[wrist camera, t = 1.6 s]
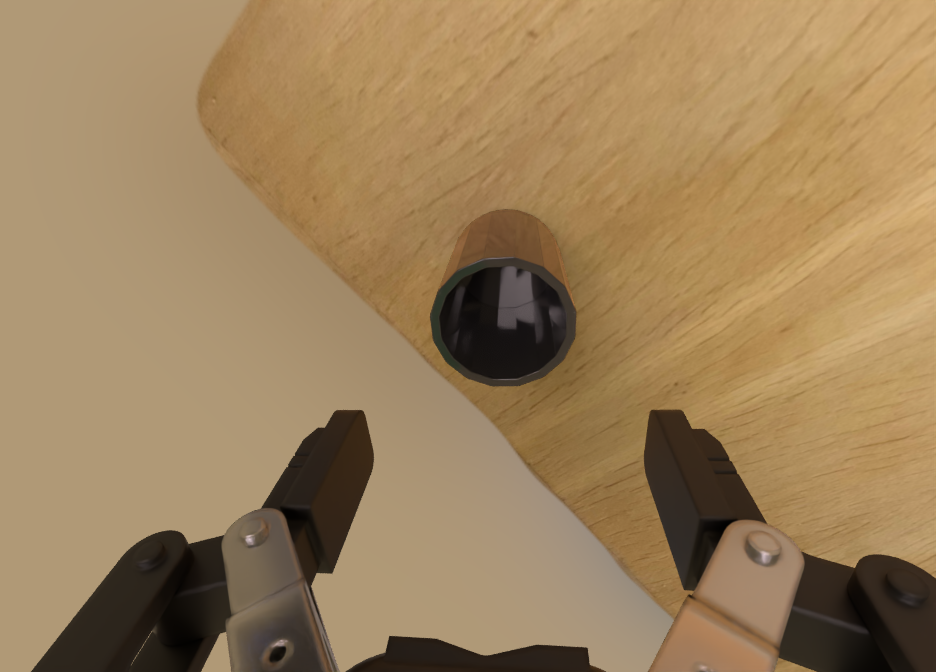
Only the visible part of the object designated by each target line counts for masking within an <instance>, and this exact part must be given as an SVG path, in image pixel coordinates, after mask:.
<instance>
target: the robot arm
mask: <svg viewBox="0 0 936 672" xmlns="http://www.w3.org/2000/svg"><path fill="white" fill-rule="evenodd" d="M373 462H374V453H373V448H372V443H371V439H370V434H369V430H368V426H367V421H366V417H365V414H364V412H363V411H362V410H337V411H335V412H334V413H333V415H332V417H331V418H330V421H329V422H328V424H327V425H326V427H325V428H317V429H316V430H315V431H314V432H312V433H311V434H310V435H309V436H308V437H306V438H305V439H304V440H303V441H302V443H301V445H300V446H299V448H298V450H297V451H296V453H295V456H293V458H292V459H291V461H290V463H289V464H288V467H287V468H286V469H285V471H284V472H283V474H282V475H281V477H280V479H279V480H278V482H277V483H276V485H275V487H274V488H273V490H272V492H271V493H270V495H269V496H268V498H267V500H266V501H265V503H264V505H263V506H262V508H261V509H259V510H255V511H252V512H250V513H248V514H246V515H244V516H242V517H241V518H239V519H238V520H237V521H236V522H234V523H233V524H232V525H231V526H230V528H229V529H228V530H227V532H226V533H225V535H223V536H219V537H215V538H211V539H207V540H203V541H200V542H195V543H191V544H188V542H187V540H186V538H185V537H184V535H183V534H182V533H180V532H178V531H172V530H169V531H162V532H158V533H155V534H153V535H151V536H148V537H146V538H145V539H143V540H141V541H139V542H138V543H136V544H135V545H134V546H133V547H131V548H130V549H129V550H128V551H127V552H126V553H125V554H124V555H123V556H122V557H121V559H120V560H119V561H118V562H117V564H116V565H115V566H114V568H113V569H112V570H111V571H110V573H109V574H108V575H107V576H106V578H105V579H104V580H103V581H102V583H101V584H100V585H99V586H98V588H97V589H96V590H95V592H94V593H93V594H92V596H91V597H90V598H89V599H88V601H87V602H86V603H85V604H84V605H83V607H82V608H81V609H80V610H79V612H78V613H77V614H76V616H75V617H74V618H73V619H72V621H71V622H70V623H69V624H68V626H67V627H66V628H65V630H64V631H63V632H62V633H61V635H60V636H59V637H58V638H57V640H56V641H55V642H54V644H53V645H52V646H51V647H50V648H49V650H48V651H47V652H46V654H45V655H44V656H43V657H42V659H41V660H40V661H39V662H38V664H37V665H36V666H35V667H34V669H33V670H32V671H31V672H201V671H202V668H203V666H204V664H205V662H206V660H207V658H208V656H209V654H210V652H211V650H212V648H213V646H214V644H215V642H216V640H217V638H218V636H219V634H220V633H223V632H226V633H227V641H228V649H229V657H230V664H231V672H340V671H339V668H338V666H337V663H336V660H335V657H334V654H333V651H332V648H331V645H330V642H329V639H328V636H327V633H326V630H325V627H324V624H323V621H322V618H321V614H320V611H319V608H318V605H317V602H316V599H315V596H314V593H313V590H312V587H311V585H312V582H313V580H314V578H315V575H316V573H333V570H334V568H335V565H336V563H337V560H338V557H339V555H340V552H341V549H342V547H343V545H344V542H345V540H346V537H347V534H348V532H349V529H350V526H351V524H352V521H353V519H354V516H355V514H356V511H357V509H358V506H359V503H360V501H361V498H362V496H363V493H364V491H365V488H366V485H367V483H368V480H369V477H370V475H371V472H372V469H373ZM644 466H645V473H646V477H647V480H648V483H649V486H650V489H651V492H652V495H653V498H654V501H655V504H656V507H657V510H658V513H659V516H660V519H661V522H662V525H663V528H664V531H665V534H666V537H667V540H668V543H669V546H670V549H671V552H672V555H673V558H674V561H675V564H676V567H677V570H678V573H679V576H680V579H681V583H682V586H683V589H684V590H692V591H694V593H693V594H692V595H690V594H689V595H688V596H687V597H686V599H685V601H684V602H683V604H682V606H681V608H680V610H679V612H678V614H677V616H676V618H675V620H674V622H673V624H672V626H671V628H670V630H669V632H668V633H667V636H666V638H665V639H664V641H663V643H662V645H661V647H660V649H659V651H658V653H657V655H656V657H655V659H654V661H653V663H652V665H651V667H650V669H649V671H648V672H774V671H775V667H776V664H777V661H778V657H779V658H781V659H784V660H787V661H790V662H792V663H795V664H798V665H800V666H803V667H806V668H809V669H811V670H814V671H817V672H936V579H935V578H934V577H933V576H931V575H930V574H929V573H927V572H926V571H924V570H923V569H921V568H919V567H917V566H915V565H913V564H911V563H909V562H907V561H905V560H902V559H899V558H896V557H892V556H887V555H868V556H865V557H863V558H862V559H860V560H859V562H858V563H857V565H856V567H855V568H853V567H849V566H846V565H842V564H838V563H835V562H831V561H828V560H824V559H821V558H817V557H814V556H811V555H808V554H806V553H804V552H801V551H800V549H799V547H798V546H797V545H796V543H795V542H794V541H793V540H792V539H791V538H790V537H788V536H787V535H786V534H785V533H783V532H782V531H780V530H779V529H777V528H775V527H773V526H771V525H768V524H767V523H766V521H765V519H764V517H763V516H762V514H761V512H760V510H759V509H758V507H757V505H756V503H755V502H754V500H753V498H752V497H751V495H750V493H749V491H748V490H747V488H746V486H745V484H744V483H743V481H742V479H741V477H740V476H739V474H737V470H736V469H735V467H734V465H733V463H732V462H731V461H730V460H729V457H728V455H727V453H726V451H725V450H724V448H723V446H722V444H721V443H720V442H719V441H718V440H717V439H716V438H714V437H713V436H712V435H711V434H710V433H708V432H707V431H706V430H705V429H692V428H691V426H690V424H689V422H688V420H687V418H686V416H685V414H684V412H683V411H682V410H651V411H650V414H649V420H648V428H647V436H646V443H645V451H644ZM151 631H152V633H151ZM150 633H151V634H150ZM149 634H150V636H149ZM148 636H149V638H148ZM147 638H148V639H147ZM146 639H147V641H146ZM145 641H146V642H145ZM144 643H145V644H144ZM143 644H144V646H143ZM142 646H143V648H142V649H141V647H142ZM140 649H141V651H140ZM139 651H140V652H139ZM138 652H139V654H138ZM137 654H138V655H137ZM136 655H137V657H136ZM135 657H136V659H135ZM134 659H135V660H134ZM133 660H134V662H133ZM132 662H133V663H132ZM131 664H132V665H131ZM346 672H606V671H604V670H601V669H599V668H597V667H594V666H591V665H590V664H589V656H588V648H584V647H566V646H550V645H533V646H529V647H525V648H520V649H516V650H511V651H507V652H502V653H498V654H493V655H488V656H484V655H480V654H477V653H474V652H471V651H468V650H466V649H463V648H460V647H458V646H455V645H452V644H449V643H447V642H444V641H441V640H438V639H432V638H413V637H398V636H389V640H388V644H387V648H386V653H383V654H379V655H376V656H374V657H371V658H368V659H366V660H364V661H362V662H360V663H358V664H356V665H355V666H353V667H352V668H351V669H349V670H347V671H346Z"/></svg>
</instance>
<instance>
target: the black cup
mask: <svg viewBox="0 0 936 672" xmlns="http://www.w3.org/2000/svg"><path fill="white" fill-rule="evenodd" d="M430 321H431V328H432V336H433V340H434V343H435V345H436V346H437V348H438V350H439V351H440V353H441V355H442V356H443V358H444V360H445V361H446V362H447V363H448V364H449V365H450V366H451V367H453V368H454V369H455V370H457V371H458V372H459V373H461V374H462V375H463V376H464V377H466V378H468V379H471V380H474V381H477V382H480V383H483V384H486V385H489V386H520V385H523V384H526V383H529V382H531V381H534V380H537V379H540V378H543V377H544V376H546V375H547V374H548V373H549V372H550V371H552V370H553V369H554V368H555V367H556V366H557V365H559V364H560V363H561V362H562V361H563V360H564V359H565V357H566V355H567V353H568V351H569V349H570V347H571V345H572V343H573V341H574V339H575V336H576V308H575V305H574V301H573V297H572V293H571V290H570V286H569V282H568V279H567V275H566V271H565V268H564V264H563V260H562V256H561V253H560V250H559V248H558V245H557V242H556V240H555V238H554V236H553V234H552V233H551V231H550V230H549V229H548V228H547V226H546V225H545V224H544V223H542V222H541V221H540V220H539V219H537V218H536V217H534V216H532V215H530V214H528V213H525V212H522V211H518V210H508V209H504V210H496V211H492V212H489V213H486V214H484V215H482V216H480V217H478V218H477V219H475V220H474V221H473V222H471V223H470V224H469V225H468V226H467V227H466V228H465V230H464V231H463V232H462V234H461V235H460V237H459V238H458V240H457V242H456V245H455V248H454V250H453V253H452V255H451V258H450V260H449V263H448V266H447V268H446V271H445V273H444V276H443V279H442V281H441V284H440V286H439V289H438V292H437V295H436V298H435V301H434V304H433V307H432V310H431V313H430Z"/></svg>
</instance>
